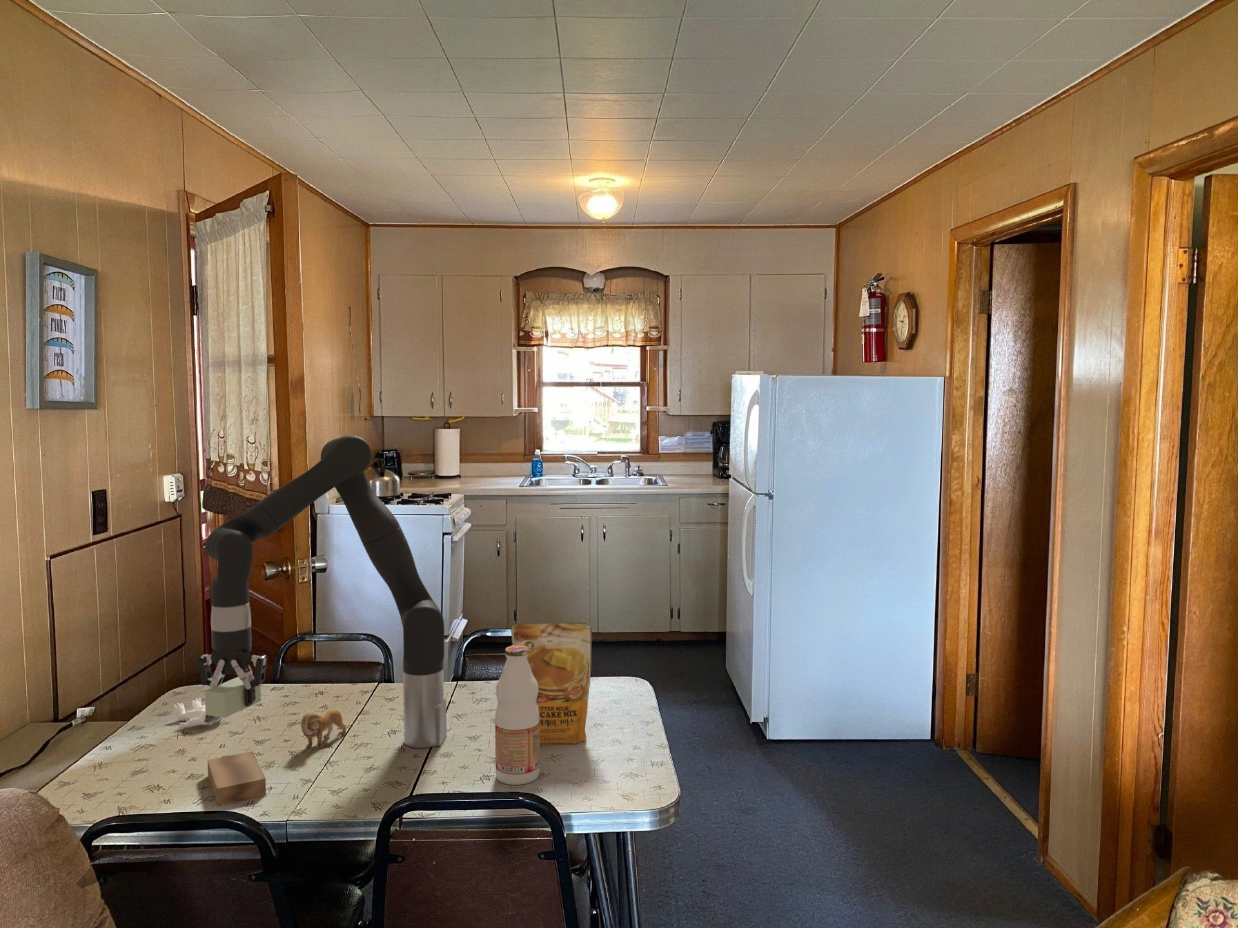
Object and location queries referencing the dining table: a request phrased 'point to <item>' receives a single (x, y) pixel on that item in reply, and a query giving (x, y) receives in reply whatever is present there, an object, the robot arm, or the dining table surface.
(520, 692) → the fruit juice
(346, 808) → the dining table surface
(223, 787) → the walnut brick
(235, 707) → the sage brick
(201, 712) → the toy creature
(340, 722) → the lion figurine
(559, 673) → the pancake mix bag
